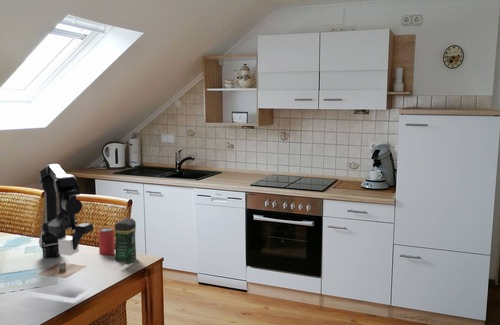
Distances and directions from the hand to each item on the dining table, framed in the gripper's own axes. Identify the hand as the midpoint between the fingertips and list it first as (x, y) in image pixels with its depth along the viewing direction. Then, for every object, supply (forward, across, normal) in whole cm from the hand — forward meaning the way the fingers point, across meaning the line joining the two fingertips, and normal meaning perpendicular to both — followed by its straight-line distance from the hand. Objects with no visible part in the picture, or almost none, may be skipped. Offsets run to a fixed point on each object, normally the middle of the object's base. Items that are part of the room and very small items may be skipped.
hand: (68, 249), depth 172 cm
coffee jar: (+14, +8, +27) cm, 31 cm away
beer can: (+13, -4, +31) cm, 34 cm away
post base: (+13, -9, +7) cm, 18 cm away
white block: (+2, 0, 0) cm, 2 cm away
